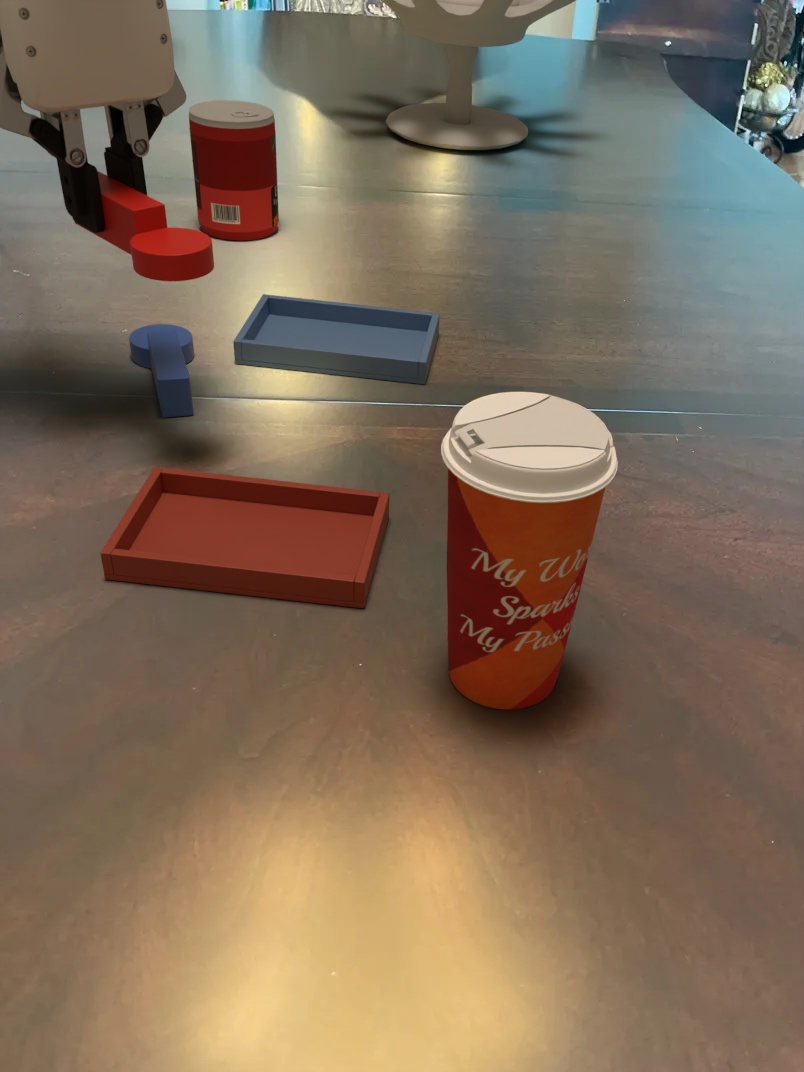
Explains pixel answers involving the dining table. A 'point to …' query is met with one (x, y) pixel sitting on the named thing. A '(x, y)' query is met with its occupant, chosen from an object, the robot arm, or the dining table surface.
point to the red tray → (250, 537)
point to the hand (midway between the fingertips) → (109, 219)
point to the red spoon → (152, 235)
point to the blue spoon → (166, 364)
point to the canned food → (235, 168)
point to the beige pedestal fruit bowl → (464, 68)
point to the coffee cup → (519, 539)
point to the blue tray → (338, 339)
